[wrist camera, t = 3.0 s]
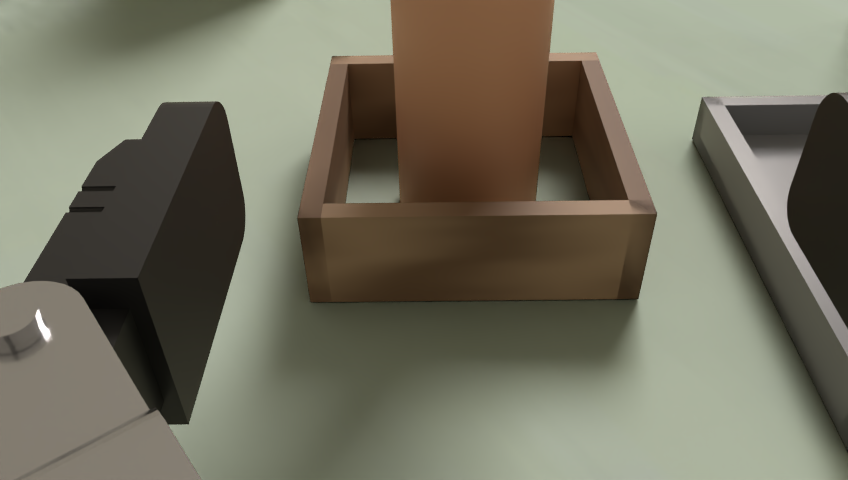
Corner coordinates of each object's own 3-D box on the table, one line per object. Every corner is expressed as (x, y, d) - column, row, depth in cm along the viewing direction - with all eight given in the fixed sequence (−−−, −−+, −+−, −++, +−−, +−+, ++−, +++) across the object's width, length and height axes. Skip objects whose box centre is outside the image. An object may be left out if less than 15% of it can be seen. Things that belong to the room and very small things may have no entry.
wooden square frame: (310, 302, 22) (297, 217, 20) (339, 130, 29) (331, 56, 27) (638, 298, 21) (657, 213, 20) (586, 127, 29) (595, 52, 27)
